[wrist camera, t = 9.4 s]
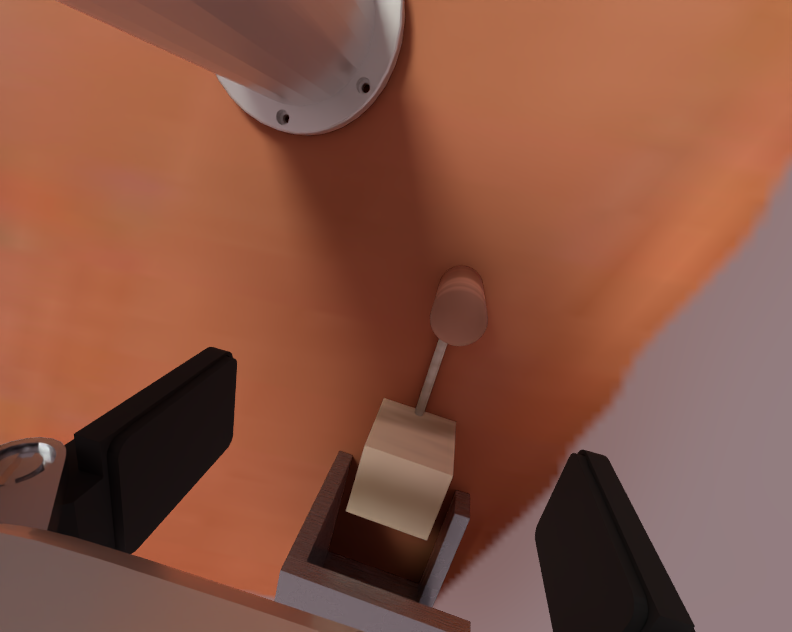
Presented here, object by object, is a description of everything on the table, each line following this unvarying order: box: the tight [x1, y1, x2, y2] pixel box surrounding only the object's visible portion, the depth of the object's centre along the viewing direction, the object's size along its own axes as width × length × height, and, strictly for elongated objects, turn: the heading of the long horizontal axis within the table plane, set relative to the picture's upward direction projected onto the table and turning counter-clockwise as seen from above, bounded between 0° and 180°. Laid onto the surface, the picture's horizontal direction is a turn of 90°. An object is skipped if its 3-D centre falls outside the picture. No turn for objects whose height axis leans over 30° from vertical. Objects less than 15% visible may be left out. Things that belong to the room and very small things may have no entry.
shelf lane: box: [275, 451, 470, 632], centre depth 29 cm, size 13×12×11 cm
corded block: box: [346, 266, 488, 541], centre depth 26 cm, size 18×6×7 cm, turn 165°
